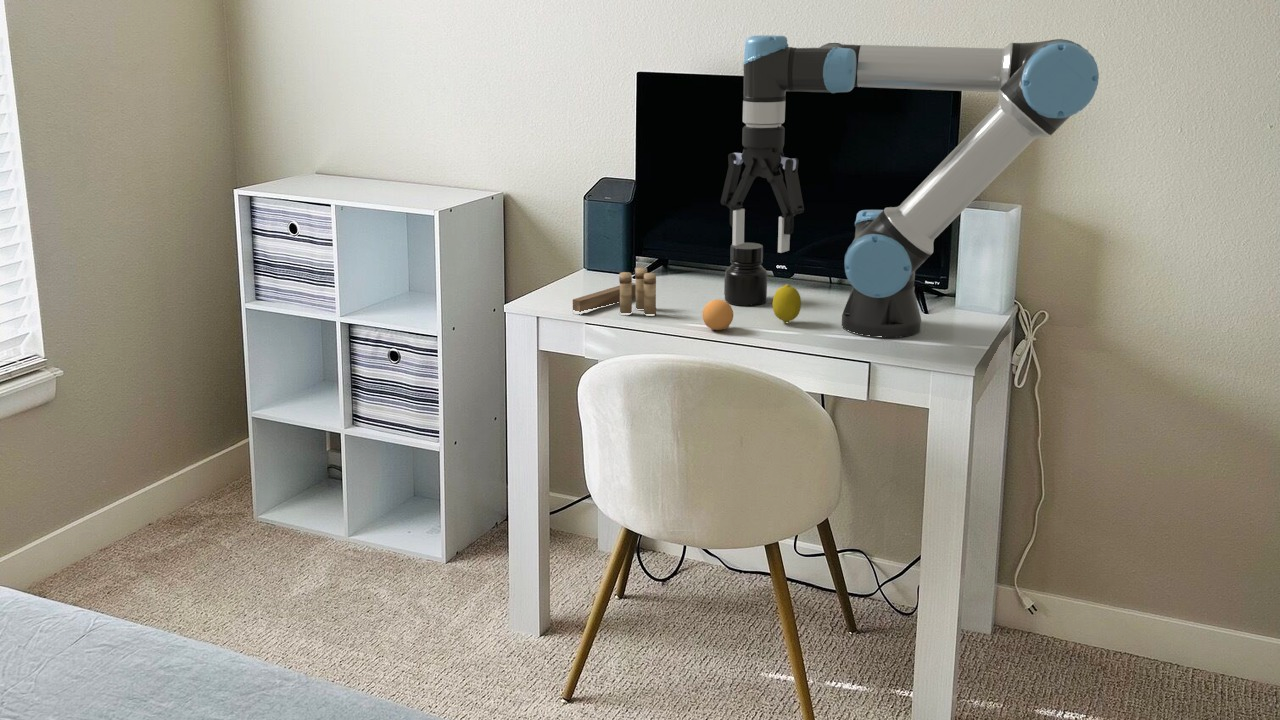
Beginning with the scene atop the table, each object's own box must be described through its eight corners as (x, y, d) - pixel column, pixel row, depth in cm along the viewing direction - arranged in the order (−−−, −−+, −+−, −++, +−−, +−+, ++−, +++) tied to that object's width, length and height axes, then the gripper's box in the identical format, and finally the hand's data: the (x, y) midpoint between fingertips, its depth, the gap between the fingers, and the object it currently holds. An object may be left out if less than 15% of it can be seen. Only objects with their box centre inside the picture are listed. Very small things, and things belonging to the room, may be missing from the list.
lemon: (796, 328, 227) (798, 288, 225) (769, 325, 229) (770, 286, 227) (803, 321, 232) (804, 282, 230) (775, 318, 234) (777, 279, 232)
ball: (739, 329, 227) (739, 299, 225) (721, 335, 223) (721, 305, 221) (714, 323, 231) (714, 294, 229) (696, 330, 226) (696, 300, 225)
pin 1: (634, 313, 238) (634, 273, 236) (626, 316, 236) (626, 275, 234) (625, 311, 240) (624, 271, 237) (617, 314, 238) (616, 273, 235)
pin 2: (650, 308, 242) (649, 268, 239) (642, 311, 240) (642, 271, 237) (640, 306, 243) (640, 267, 241) (633, 309, 241) (632, 269, 239)
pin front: (658, 314, 237) (658, 274, 235) (650, 317, 236) (650, 276, 233) (649, 312, 239) (648, 272, 236) (641, 315, 237) (641, 274, 234)
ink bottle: (759, 294, 252) (760, 240, 249) (774, 304, 244) (776, 248, 241) (716, 298, 250) (717, 243, 246) (731, 308, 242) (732, 251, 238)
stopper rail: (636, 297, 250) (636, 283, 250) (580, 315, 237) (579, 301, 236) (629, 296, 252) (629, 282, 251) (572, 313, 239) (572, 299, 238)
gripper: (828, 127, 205) (822, 252, 212) (725, 118, 218) (723, 236, 225) (805, 131, 199) (800, 259, 206) (701, 122, 213) (700, 243, 220)
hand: (760, 247), depth 216 cm, fingers open, 9 cm apart
